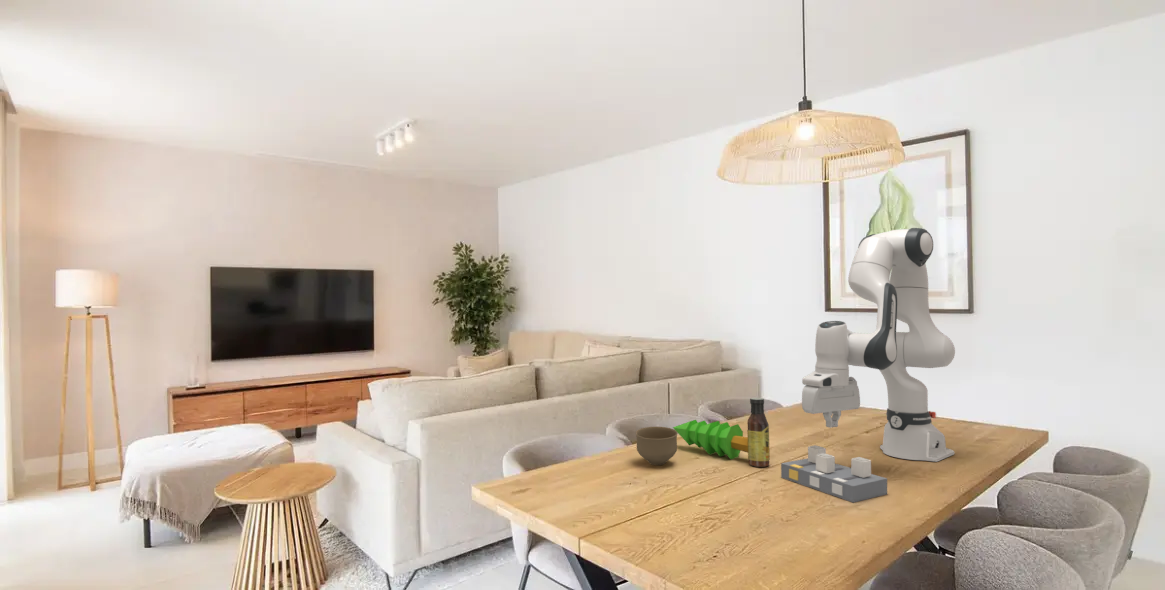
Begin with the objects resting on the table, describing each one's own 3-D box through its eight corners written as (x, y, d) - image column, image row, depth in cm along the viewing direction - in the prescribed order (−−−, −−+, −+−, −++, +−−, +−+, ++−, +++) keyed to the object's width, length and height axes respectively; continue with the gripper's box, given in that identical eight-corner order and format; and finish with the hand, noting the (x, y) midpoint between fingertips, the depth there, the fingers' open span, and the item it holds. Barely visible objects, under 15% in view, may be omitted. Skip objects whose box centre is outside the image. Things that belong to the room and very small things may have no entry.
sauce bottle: (771, 468, 174) (769, 400, 174) (749, 467, 175) (747, 400, 175) (768, 462, 180) (766, 397, 180) (747, 461, 181) (745, 396, 181)
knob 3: (859, 472, 155) (859, 456, 155) (871, 476, 152) (870, 459, 152) (851, 474, 154) (851, 458, 154) (863, 477, 151) (863, 461, 151)
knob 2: (823, 468, 159) (823, 452, 159) (834, 471, 156) (834, 455, 156) (815, 470, 158) (815, 454, 158) (826, 473, 154) (826, 457, 155)
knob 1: (815, 459, 168) (815, 444, 168) (825, 462, 164) (825, 447, 164) (808, 461, 166) (807, 446, 166) (818, 464, 163) (818, 448, 163)
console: (813, 471, 171) (813, 456, 171) (887, 494, 151) (887, 477, 151) (780, 477, 165) (780, 462, 165) (852, 502, 145) (852, 485, 145)
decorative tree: (749, 423, 178) (668, 407, 199) (741, 461, 175) (659, 440, 196) (765, 432, 186) (685, 415, 207) (758, 468, 183) (677, 448, 204)
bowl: (630, 467, 176) (630, 433, 176) (642, 456, 187) (642, 425, 188) (672, 471, 171) (671, 437, 171) (681, 460, 183) (681, 428, 183)
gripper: (846, 375, 176) (846, 421, 176) (797, 378, 166) (797, 428, 166) (865, 377, 170) (865, 425, 170) (816, 381, 161) (816, 432, 161)
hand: (831, 426), depth 168 cm, fingers closed
